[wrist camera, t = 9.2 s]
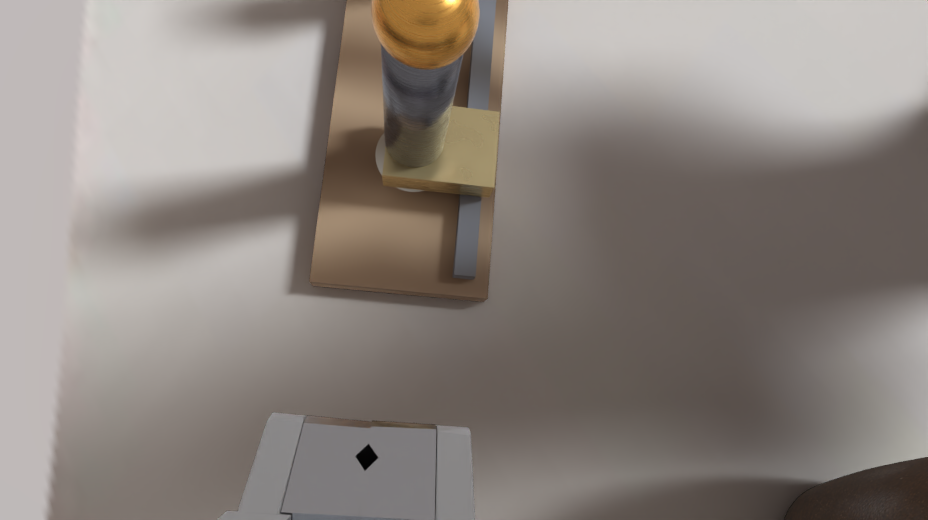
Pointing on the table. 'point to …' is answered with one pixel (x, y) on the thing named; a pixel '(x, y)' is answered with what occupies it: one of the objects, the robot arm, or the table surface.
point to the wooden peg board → (400, 209)
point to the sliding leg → (432, 99)
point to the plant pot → (869, 495)
